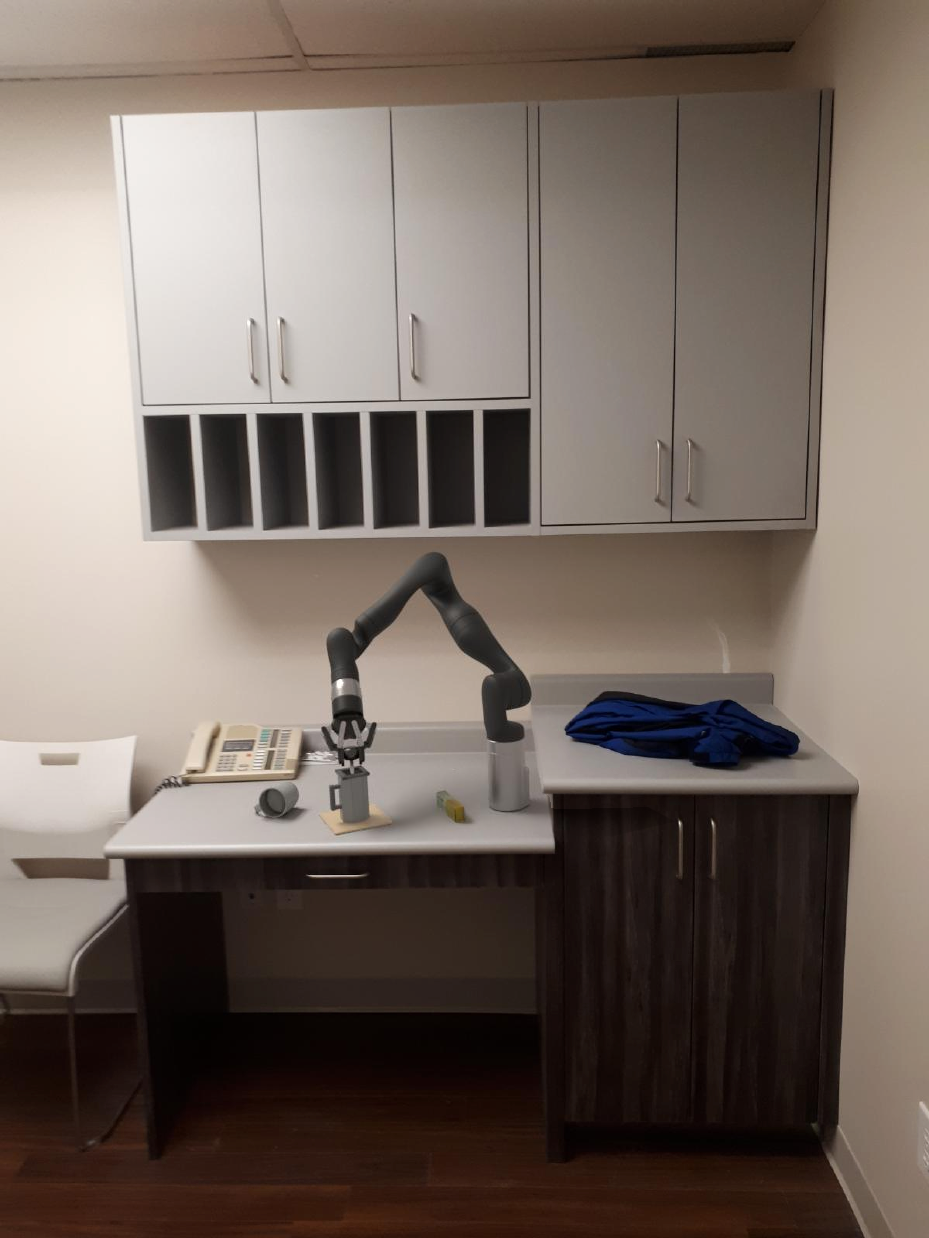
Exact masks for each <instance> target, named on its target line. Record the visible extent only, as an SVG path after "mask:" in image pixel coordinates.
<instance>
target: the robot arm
mask: <svg viewBox="0 0 929 1238" xmlns="http://www.w3.org/2000/svg"><path fill="white" fill-rule="evenodd" d="M419 590H421V592H422V593H423V595H425V597H426V598H427V599H428V600H429V602H430V603H431V604H432V605H433V606H434V608H435V609H436V610H437V612H438V613H439V615H440V616H441V620H442V621H443V623H444V626H445V628H446V629H447V631H448V633H449V635H450V636H451V637H452V639H453V641H454V643H455V644H456V646H457V647H458V648H459V650H460V651H461V652H462V653H464V654H465V655H467V656H468V657H469V658H471V659H473V660H474V661H476V662H479V664H481V665H483V666H485V667H486V668H488V669H489V670H490V671H491V672H492V674H489V675H486V676H485V677H484V678H483V680H482V684H481V692H480V693H481V694H480V695H481V705H482V712H483V713H482V715H483V724H484V728H485V732H486V733H485V734H486V753H487V754H486V755H487V778H488V780H487V781H488V782H487V783H488V785H487V786H488V805H489V808H490V809H493V810H495V811H499V812H516V811H520V810H522V809H524V808H525V807H528V806H530V805H531V800H530V797H531V795H530V768H529V767H528V766H527V765H526V744H525V743H526V741H525V740H526V739H525V738H526V737H525V736H526V735H525V726H524V725H523V724H522V723H520V722H518V721H512V720H508V715H507V711H510V710H516V709H520V708H523V707H526V706H528V705H529V703H530V702H531V701H532V687H531V684H530V681H529V679H528V678H527V676H526V675H525V673H524V672H523V671H522V670H521V668H520V667H519V666H518V664H517V663H516V662H515V661H514V660H513V659H512V658H511V657H510V655H509V654H508V653H507V652H506V651H505V649H504V648H503V646H502V645H501V644H500V642H499V641H498V639H497V638H496V636H495V635H494V633H493V632H492V631H491V629H490V628H489V625H488V624H487V622H486V621H485V620H484V618H483V616H482V615H481V614H480V612H479V611H478V610H477V608H475V607H474V606H472V604H469V603H468V602H467V601H465V600H464V599H463V598H462V596H461V594H460V593H459V591H458V589H457V587H456V585H455V582H454V580H453V575H452V572H451V568H450V565H449V562H448V559H447V557H446V555H444V554H443V553H441V552H438V551H430V552H426V553H424V554H422V555H421V556H420V557H419V558H418V559H416V560H415V562H413V564H411V566H410V567H409V568H408V569H407V570H406V571H405V572H404V574H403V575H402V576H401V577H400V578H399V579H398V580H397V581H396V582H395V583H394V584H393V586H391V587H390V589H389V590H388V591H387V592H386V593H385V594H384V595H383V596H381V597H380V598H379V599H378V600H377V601H376V602H374V603H373V604H372V605H371V606H369V607H368V608H367V609H365V610H364V611H363V612H361V614H359V615H358V616H357V618H355V620H354V627H353V630H352V631H350V630H349V629H348V628H346V627H335V628H334V629H332V630H331V631H330V632H329V634H328V635H327V637H326V644H325V645H326V651H327V652H326V653H327V658H328V663H329V666H330V685H331V690H330V691H331V692H330V701H331V713H332V714H331V715H332V721H331V724H330V725H328V726H323V725H322V726H321V728H320V732H321V733H320V734H321V735H322V737H323V740H324V741H325V743H326V745H327V747H328V749H329V751H330V752H337V762H338V765H340V766H341V767H345V760H344V750H343V748H344V745H345V741H346V740H355V744H356V745H357V747H358V750H359V758H358V764H359V765H358V766H360V765H362V766H363V763H365V761H366V753H365V751H366V749H370V748H371V747H372V745H373V742H374V738H375V735H376V733H377V727H378V725H377V722H376V721H375V722H374V721H373V722H372V723H371V722H367V720H366V718H365V717H364V705H363V703H364V702H363V695H362V688H361V683H360V672H359V667H358V664H357V663H356V661H357V660H358V659H359V658H360V657H361V656H362V655H363V654H364V652H366V650H367V649H368V648H369V646H371V643H372V642H373V640H374V639H376V637H378V636H379V635H380V634H382V633H383V632H384V631H385V630H386V629H388V628H389V627H390V626H391V625H392V624H393V623H394V622H395V621H396V620H397V618H398V617H399V615H400V614H401V613H402V611H403V609H404V608H405V606H406V605H407V604H408V602H409V601H410V599H411V597H413V595H414V594H416V593H417V592H418V591H419ZM365 729H367V732H368V734H367V737H366V740H363V738H362V734H363V732H364V730H365ZM332 731H333V732H334V733H335V735H337V736H338V739H337V743H335V742H334V740H333V738H332V736H331V735H332Z"/></svg>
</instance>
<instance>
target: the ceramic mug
mask: <svg viewBox="0 0 929 1238" xmlns="http://www.w3.org/2000/svg"><path fill="white" fill-rule="evenodd" d="M299 798H300V792H299V789H298V787H297V786H296V784H295V783H293V782H292V781H289V780H281V781H277V782H276V783H274V784H272V785H270V786H268V787H265V788H264V789H263V790H262V792H260V794H259V797H258V803H257V804H256V805H254V806H253V808H254V811H255V812H256V813H259V812H262V813H263V814H264V815H265V816H266V817H268V818H271V819H277V818H281V817H282V816H283V815H285V814H286V813H287V812H289V811H290V810H291V809H293V808H294V807H295V806H296V805H297V803H298V802H299Z"/></svg>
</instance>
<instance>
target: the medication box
mask: <svg viewBox="0 0 929 1238" xmlns="http://www.w3.org/2000/svg"><path fill="white" fill-rule="evenodd" d="M436 802H437V808H438V809H440V811H442V813H444V814H445V815H447V817H449V818H450V819H451V820H452V821H453V822H454V821H455V822H454V823H461V821H462V822H465V821H466V810H465V806H464V805H463V804H462V803H461V802H460V801H458V800H457V799H456V798H455V797H454V796H452V794H450V793H449V792H448V791H447V790H441V791H438V792H436Z"/></svg>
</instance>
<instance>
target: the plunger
mask: <svg viewBox="0 0 929 1238" xmlns="http://www.w3.org/2000/svg"><path fill="white" fill-rule="evenodd" d="M343 750H344V761H349V767H350V774H351V775H352V774H354V766H355V765H354V764H355V763H354V762H355V761H356V760H359V750H358V745H357V746H356V745H350V746H344V747H343Z"/></svg>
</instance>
